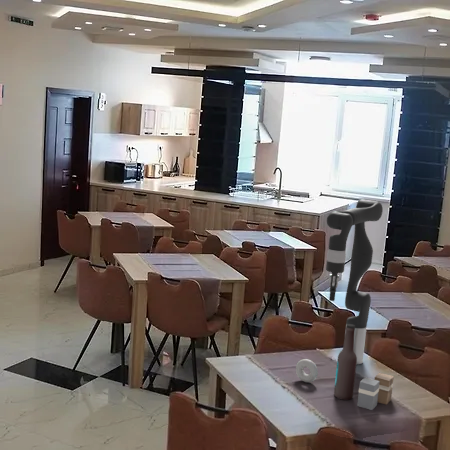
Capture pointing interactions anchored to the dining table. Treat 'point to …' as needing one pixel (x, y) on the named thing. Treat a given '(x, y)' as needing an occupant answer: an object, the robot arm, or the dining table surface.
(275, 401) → the dining table surface
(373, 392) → the slate block
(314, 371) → the donut
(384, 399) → the tan block
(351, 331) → the beer bottle
